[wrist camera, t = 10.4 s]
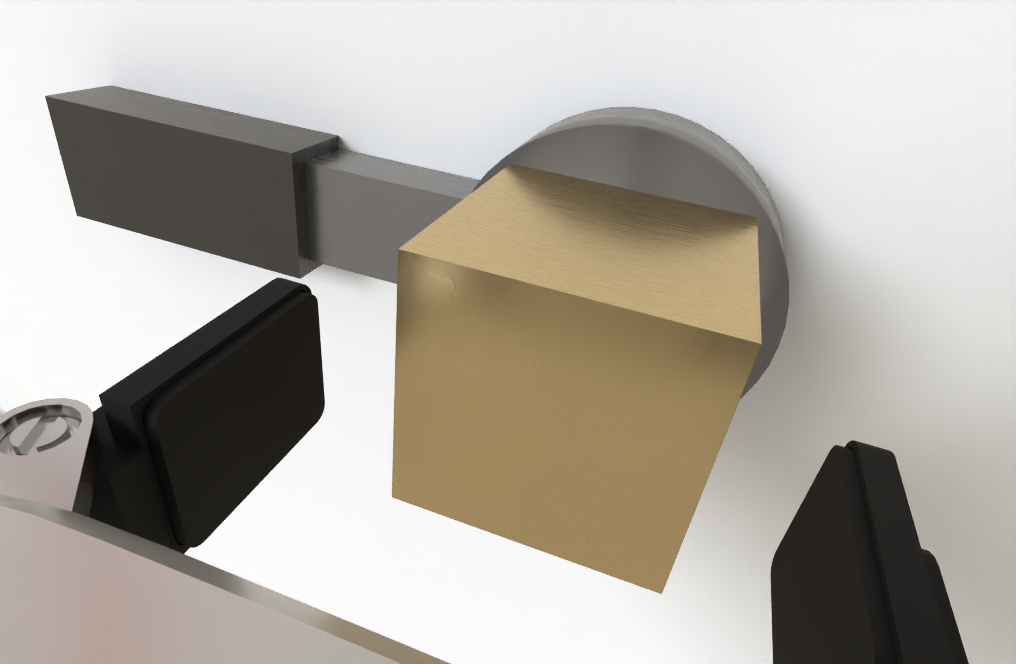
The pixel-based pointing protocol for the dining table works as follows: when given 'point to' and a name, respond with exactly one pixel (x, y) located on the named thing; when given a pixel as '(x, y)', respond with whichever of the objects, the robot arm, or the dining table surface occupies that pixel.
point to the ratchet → (368, 184)
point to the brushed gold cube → (572, 365)
